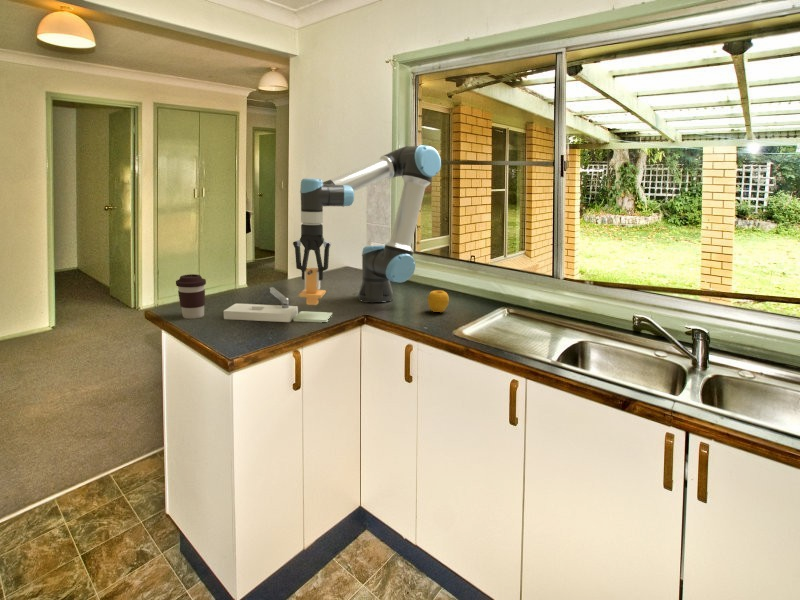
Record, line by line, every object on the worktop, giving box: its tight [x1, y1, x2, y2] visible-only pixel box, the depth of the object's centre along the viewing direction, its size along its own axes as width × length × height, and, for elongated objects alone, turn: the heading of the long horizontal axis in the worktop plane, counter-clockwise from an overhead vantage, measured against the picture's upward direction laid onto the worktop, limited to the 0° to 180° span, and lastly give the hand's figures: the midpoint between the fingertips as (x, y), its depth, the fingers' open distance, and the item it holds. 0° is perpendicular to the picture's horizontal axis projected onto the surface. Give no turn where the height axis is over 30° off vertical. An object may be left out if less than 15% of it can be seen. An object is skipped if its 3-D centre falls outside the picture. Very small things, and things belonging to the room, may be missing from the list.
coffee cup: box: [175, 273, 207, 320], centre depth 181 cm, size 10×10×15 cm
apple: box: [427, 289, 450, 313], centre depth 196 cm, size 8×8×9 cm
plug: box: [298, 267, 327, 306], centre depth 181 cm, size 8×9×13 cm
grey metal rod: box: [269, 286, 290, 305], centre depth 193 cm, size 21×3×2 cm, turn 29°
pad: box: [292, 310, 333, 323], centre depth 184 cm, size 12×10×1 cm
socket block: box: [223, 302, 299, 323], centre depth 184 cm, size 24×11×4 cm, turn 86°
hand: (312, 288), depth 182 cm, fingers closed on plug, 4 cm apart
